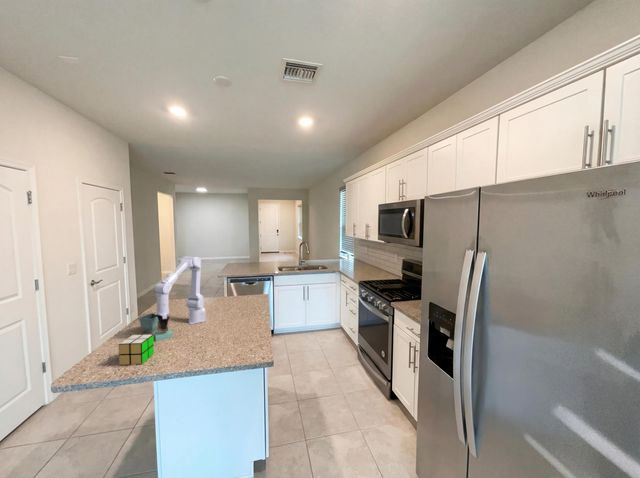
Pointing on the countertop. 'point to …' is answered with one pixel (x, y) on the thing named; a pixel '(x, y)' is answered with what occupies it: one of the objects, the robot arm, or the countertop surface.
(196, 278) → the robot arm
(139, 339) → the puzzle cube
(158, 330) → the walnut block
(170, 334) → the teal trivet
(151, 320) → the flower pot
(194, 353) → the countertop surface
